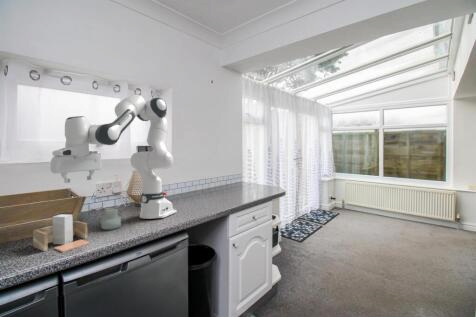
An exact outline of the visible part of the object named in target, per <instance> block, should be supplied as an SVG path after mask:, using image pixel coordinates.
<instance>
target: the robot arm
mask: <svg viewBox="0 0 476 317" xmlns="http://www.w3.org/2000/svg"><path fill="white" fill-rule="evenodd" d="M114 114H115V116H116V117H117V118H115V119H114V120H113V121H112V122H110V123H104V124H96V123H94V122H92V121H90V120H89V119H87V117H86V116H84V115H83V116H82V115H81V116H80V115H79V116H78V115H77V116H70V117H67V118H66V119H65V123H64V137H65V144H64V145H65V146H64V147H63V148H60V149H57V150H53V151H52V157H51V159H50V172H51V173H52V174H60V176H61V177H62V179H64V180H63V181H64V184H69V183H71V178H69V177H67V176H68V173H78V172H88V173H89V175H88V176H86V181H93V176H94V174H95V171H101V170H102V168H103V164H102V159H101V158H102V156H101V152H98V151H97V150H94V151H90V145H96V146H97V145H100V146H101V145H105V146H113V145H116V143H118V142H119V140H120V138H121V135H122V133H124V131H125V130H126V129H127V128H128V127H129V126H130V125H131V124H132V123H133V122H134V120H135V118H137V119H138V120H140V121H142V122H148V121H150V124H149V125H150V126H149V129H148V134H147V138H146V143H147V145H148V146H150V148H152V151H138V152H134V153H133V154H132V155H131V157H130V159H129V160H130V166H132V168H134V169H135V170H136V172H138V175H139V177H140V179H141V186H142V187H141V188H142V189H141V190H142V193H141V208H140V214H139V218H140V219H164V218H167V217H169V216H170V215H173V214H176V213H177V209H174V208H173V203H172V202H171V201H170V200H168V199H167V198H166V197H165V196H167V195H168V192H166V191H164V192H163V189H162V188H163V181H162V180H163V179H162V178H161V177H160V176H158V175H156V173H155V172H154V170H159V171H161V170H163V171H164V170H167V169H170V168H172V166H173V164H174V156H173V155H172V153H171V152H169V151H168V149H167V146H166V143H167V137H168V131H169V130H168V129H169V122H168V120H167V118H165V117H166V116H167V103H166V101H165V100H164V99H163V98H161V97H154V98H151V99H149V100H147V101H146V100H145V99H144V97H143V96H141V95H139V94H137V93H136V94H132V95H130V96H127V97H126V98H123V99H122V100H120V101H119V102H118V103H117V104H116V105H115V107H114Z"/></svg>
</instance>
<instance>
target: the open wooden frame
mask: <svg viewBox="0 0 476 317" xmlns="http://www.w3.org/2000/svg"><path fill="white" fill-rule="evenodd" d="M74 236H76V237H79V238H82V239H83V240H84V239H85V240H86V239H88V223H87V222H83V221H78V220H76V219H75V220H73V237H74ZM32 237H33V238H32V243H33V245H32V246H33V248H34V249H35V248H36V249H37V250H40V251H42V252H47V251H48V248H49V246H48V244H51V243H53V225H50V226H46V227H41V228H38V229H34V230H33V229H32Z"/></svg>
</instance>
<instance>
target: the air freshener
mask: <svg viewBox="0 0 476 317" xmlns="http://www.w3.org/2000/svg"><path fill="white" fill-rule="evenodd" d="M121 226H122V217H121V216H119V210H118V208H114V207H113V208H107V209H105V210H104V218H102V220H101V229H102V230H105V231H110V230H111V231H113V230H115V229H119V228H120V227H121Z"/></svg>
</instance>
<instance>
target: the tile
mask: <svg viewBox="0 0 476 317" xmlns="http://www.w3.org/2000/svg"><path fill="white" fill-rule="evenodd" d="M90 244H91V242H89V241H87V240H84V239H78V240H75V241H74V240H73V241H72V242H70V243H68V244H64V245H63V244H60V245H59V246H54V247H53V249H54V250H56V251H59V252H61V253H65V252H68V251H71V250H76V249H78V248H81V247H84V246H87V245H90Z"/></svg>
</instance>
